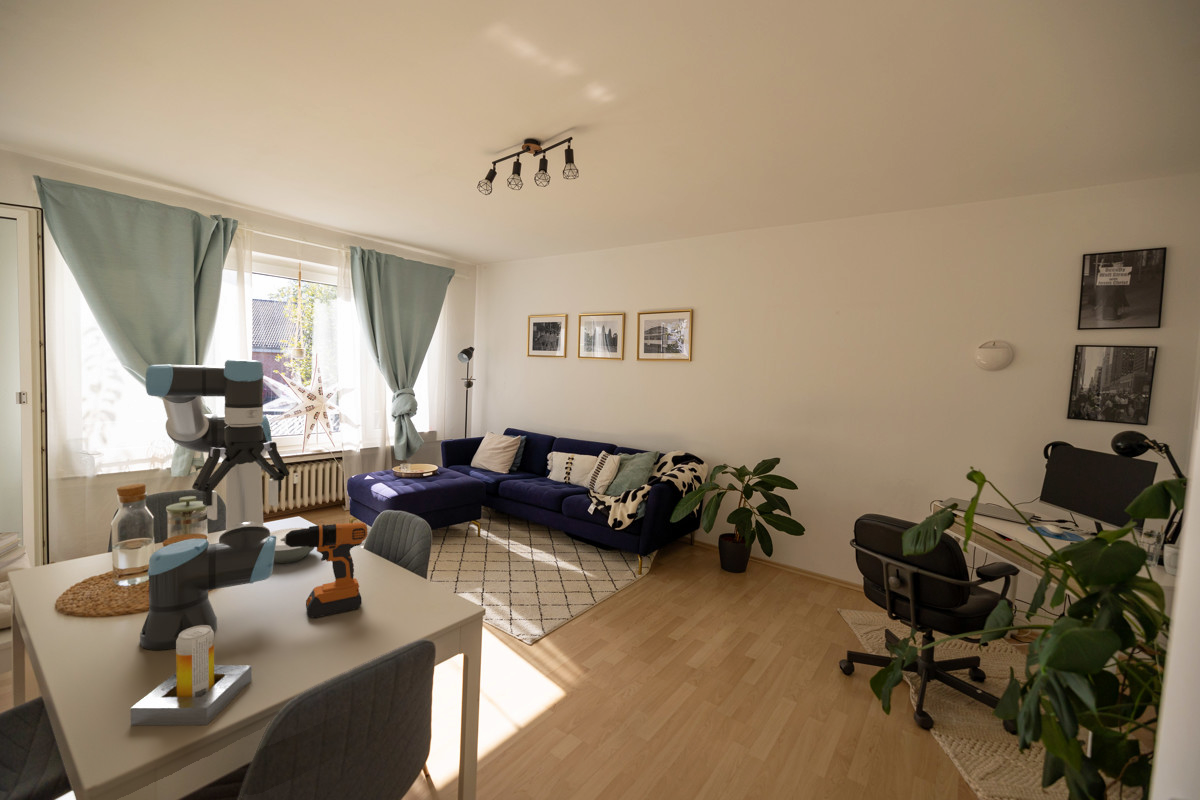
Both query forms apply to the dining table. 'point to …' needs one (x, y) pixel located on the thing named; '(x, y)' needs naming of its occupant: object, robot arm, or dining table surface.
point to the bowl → (288, 548)
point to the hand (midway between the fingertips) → (244, 511)
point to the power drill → (336, 549)
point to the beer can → (195, 661)
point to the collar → (191, 699)
